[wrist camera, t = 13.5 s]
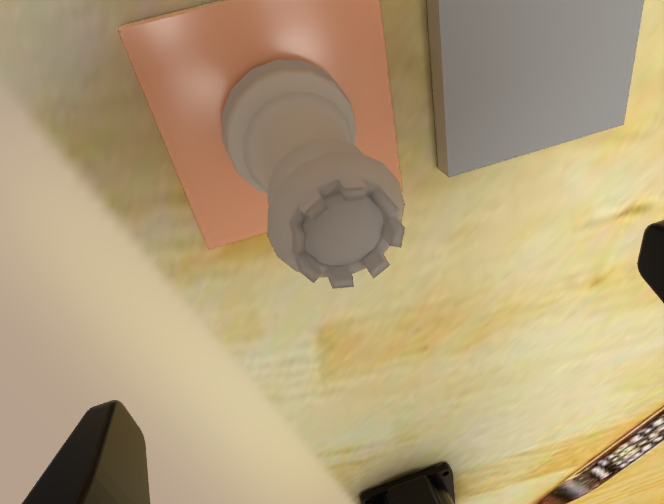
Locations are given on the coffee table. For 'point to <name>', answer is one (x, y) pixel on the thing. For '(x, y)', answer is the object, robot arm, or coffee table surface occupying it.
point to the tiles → (384, 82)
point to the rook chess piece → (312, 172)
